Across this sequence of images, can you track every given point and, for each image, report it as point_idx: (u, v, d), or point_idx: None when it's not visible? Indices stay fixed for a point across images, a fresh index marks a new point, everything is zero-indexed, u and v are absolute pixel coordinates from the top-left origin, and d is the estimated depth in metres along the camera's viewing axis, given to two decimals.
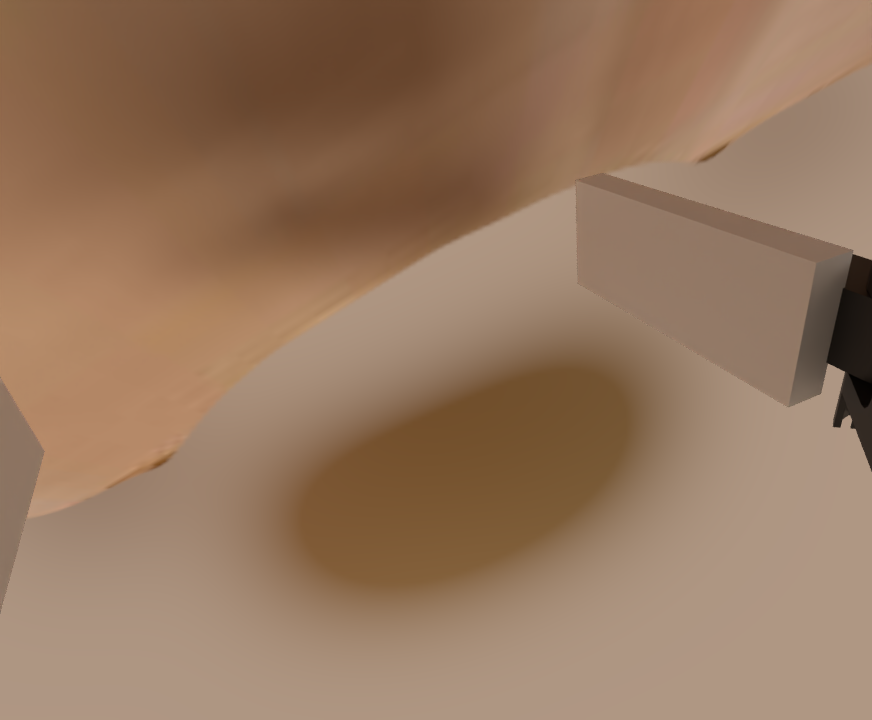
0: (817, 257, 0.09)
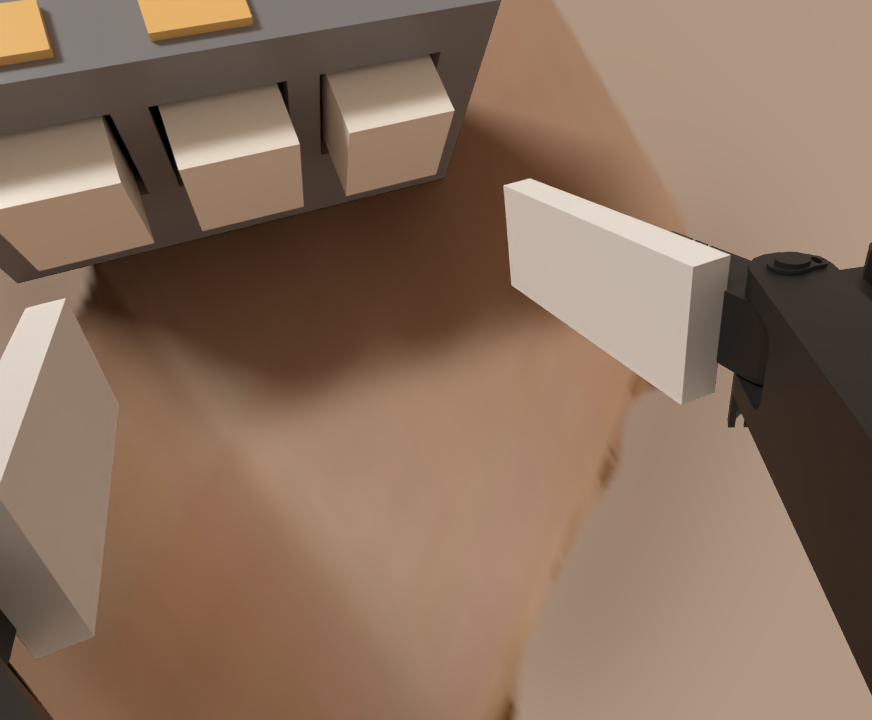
0: (696, 261, 0.10)
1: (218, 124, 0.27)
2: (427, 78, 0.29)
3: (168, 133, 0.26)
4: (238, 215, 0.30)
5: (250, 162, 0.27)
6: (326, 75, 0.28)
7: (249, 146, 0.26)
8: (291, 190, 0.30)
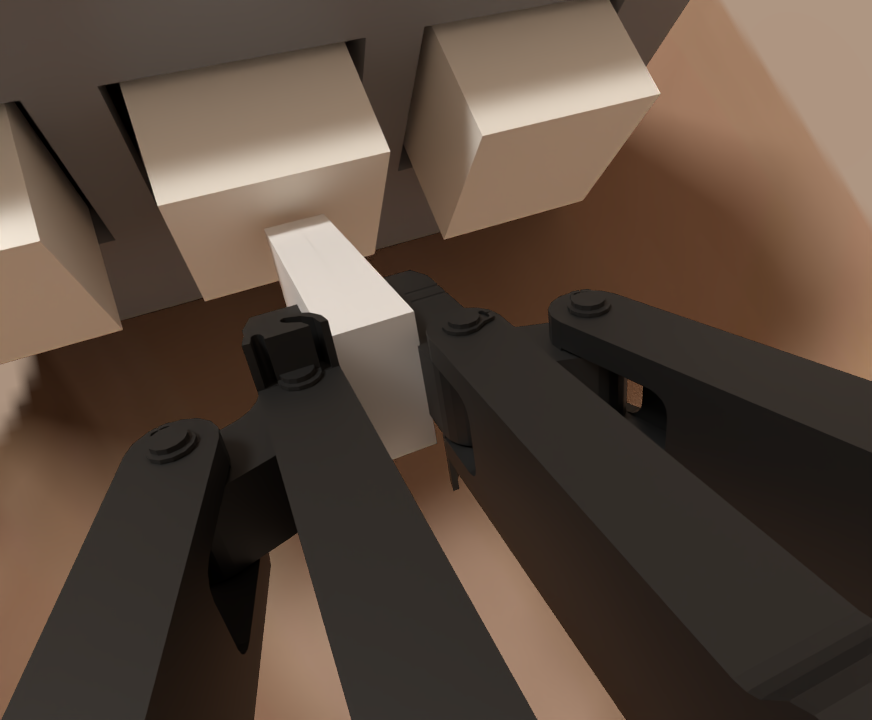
0: (379, 318, 0.10)
1: (235, 114, 0.14)
2: (608, 36, 0.16)
3: (137, 132, 0.13)
4: (267, 274, 0.18)
5: (297, 187, 0.14)
6: (433, 30, 0.15)
7: (295, 157, 0.14)
8: (360, 231, 0.17)
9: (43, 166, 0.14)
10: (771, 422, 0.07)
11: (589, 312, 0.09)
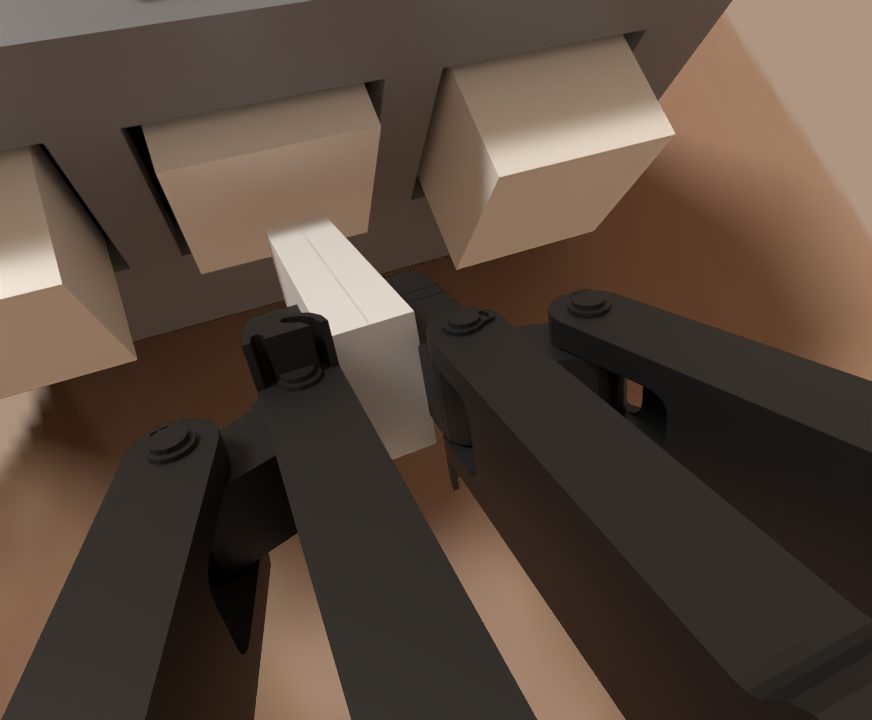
0: (380, 317, 0.10)
1: None
2: (624, 76, 0.16)
3: None
4: (262, 248, 0.18)
5: (290, 159, 0.15)
6: (450, 69, 0.16)
7: (289, 129, 0.14)
8: (353, 208, 0.18)
9: (63, 203, 0.14)
10: (772, 422, 0.07)
11: (589, 312, 0.09)
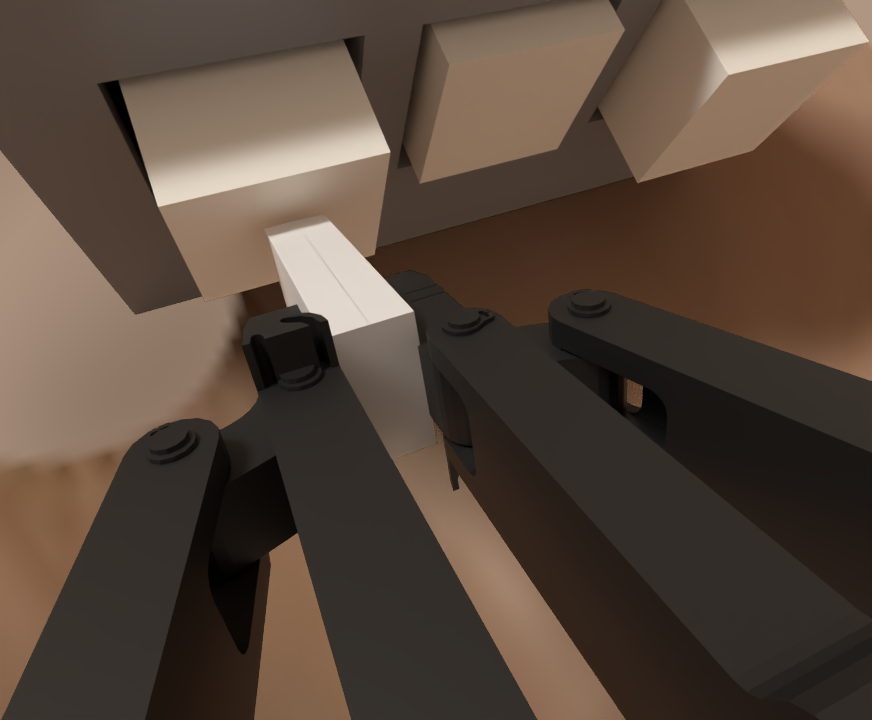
0: (379, 317, 0.10)
1: None
2: None
3: None
4: (476, 158, 0.20)
5: (546, 59, 0.16)
6: None
7: (550, 31, 0.16)
8: (560, 119, 0.20)
9: None
10: (772, 422, 0.07)
11: (589, 313, 0.09)
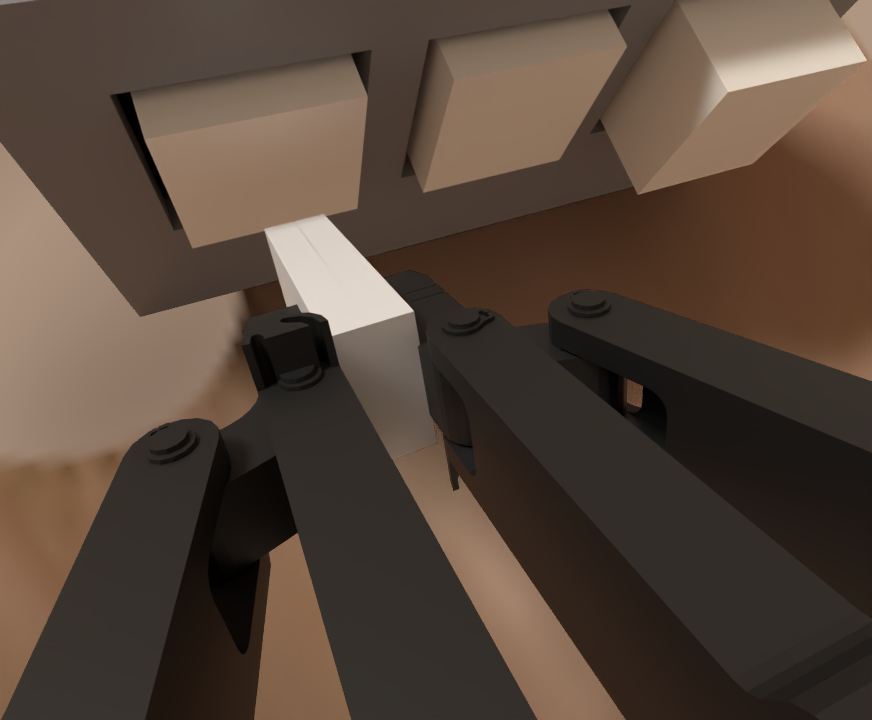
0: (379, 318, 0.10)
1: None
2: (818, 10, 0.19)
3: None
4: (479, 169, 0.20)
5: (549, 74, 0.17)
6: (676, 1, 0.18)
7: (554, 47, 0.16)
8: (562, 132, 0.20)
9: None
10: (772, 421, 0.07)
11: (589, 312, 0.09)
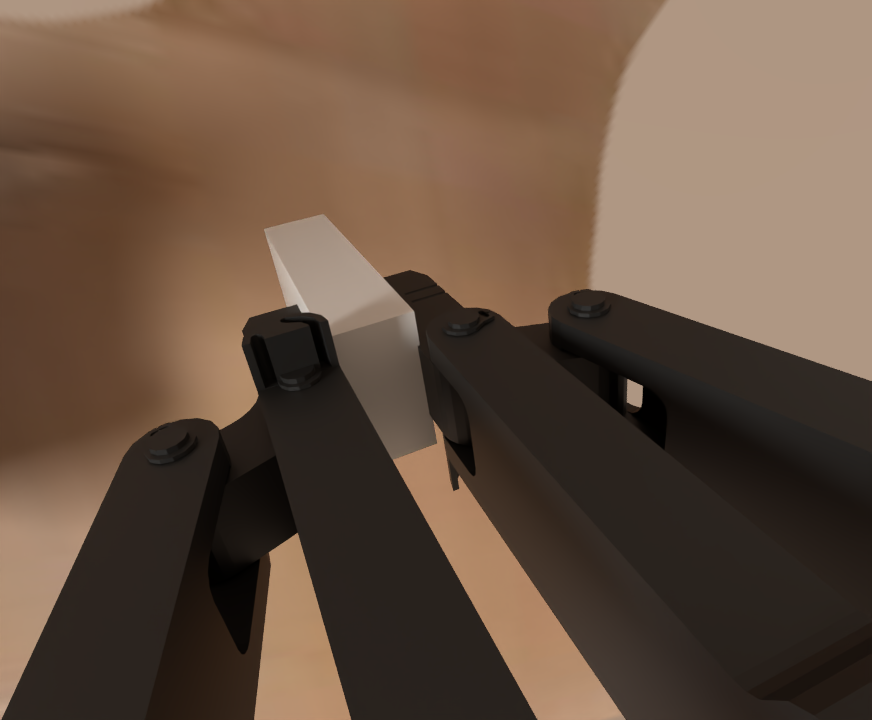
0: (379, 317, 0.10)
1: None
2: None
3: None
4: None
5: None
6: None
7: None
8: None
9: None
10: (771, 422, 0.07)
11: (589, 313, 0.09)
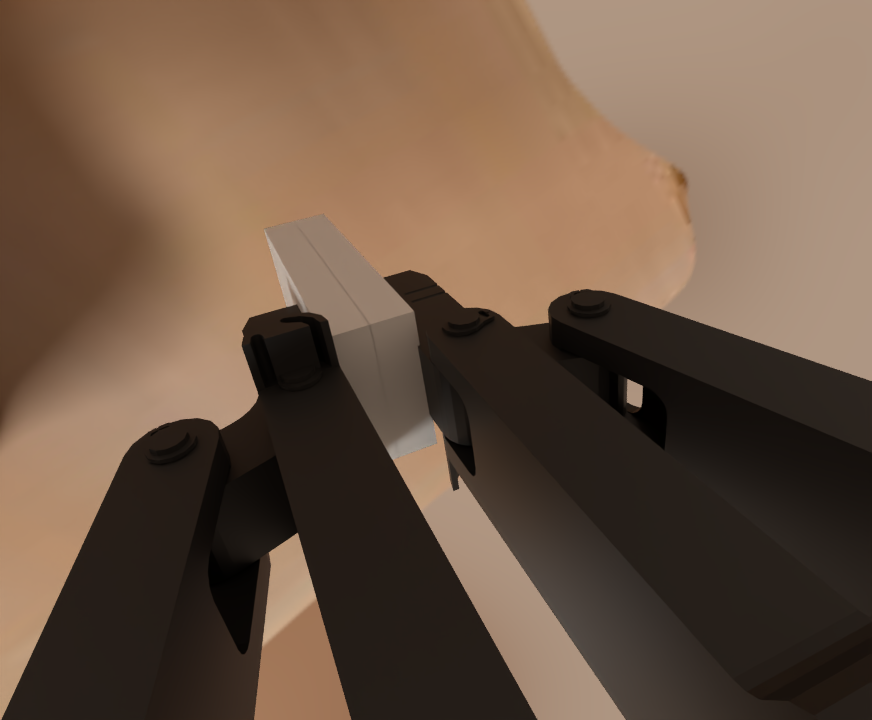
0: (379, 318, 0.10)
1: None
2: None
3: None
4: None
5: None
6: None
7: None
8: None
9: None
10: (771, 422, 0.07)
11: (589, 312, 0.09)
